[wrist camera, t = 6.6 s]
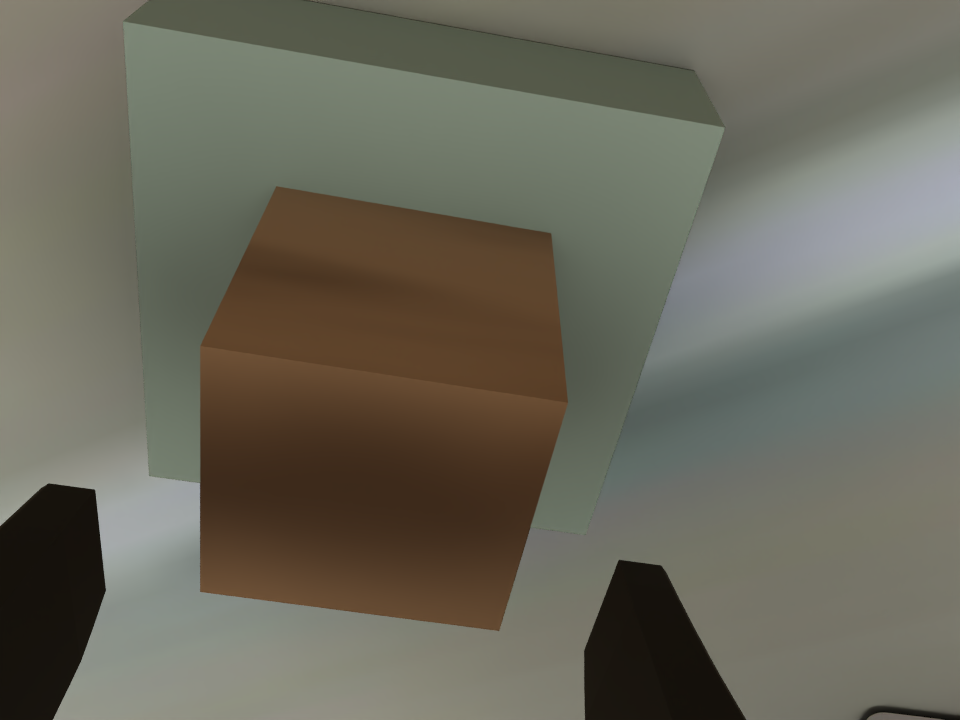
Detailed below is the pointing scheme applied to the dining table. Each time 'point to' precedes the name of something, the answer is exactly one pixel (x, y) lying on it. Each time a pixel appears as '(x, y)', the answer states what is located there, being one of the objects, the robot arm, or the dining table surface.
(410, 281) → the walnut block
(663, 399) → the dining table surface
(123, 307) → the dining table surface
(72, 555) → the robot arm
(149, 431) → the sage green base
